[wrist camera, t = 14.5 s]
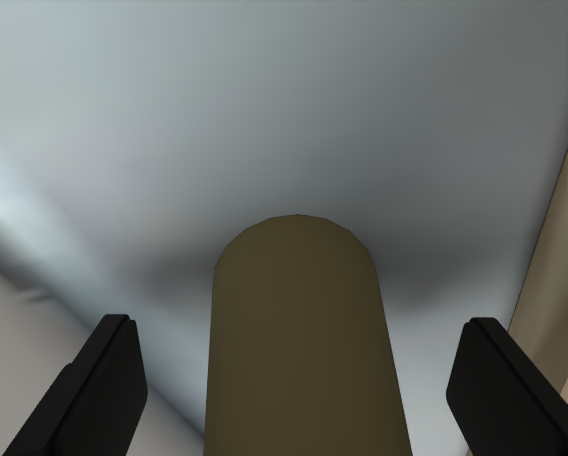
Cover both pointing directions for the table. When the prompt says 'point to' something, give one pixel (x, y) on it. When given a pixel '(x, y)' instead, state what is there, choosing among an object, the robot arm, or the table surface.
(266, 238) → the olive brown waisted cylinder
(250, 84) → the table surface
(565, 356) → the wooden tray
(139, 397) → the robot arm
